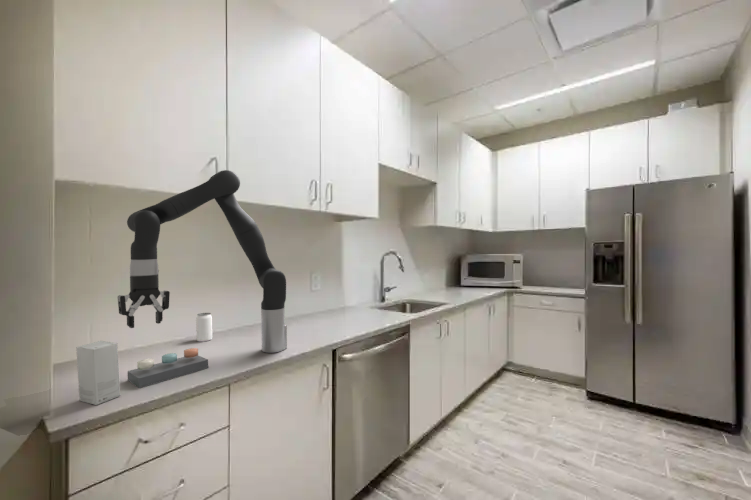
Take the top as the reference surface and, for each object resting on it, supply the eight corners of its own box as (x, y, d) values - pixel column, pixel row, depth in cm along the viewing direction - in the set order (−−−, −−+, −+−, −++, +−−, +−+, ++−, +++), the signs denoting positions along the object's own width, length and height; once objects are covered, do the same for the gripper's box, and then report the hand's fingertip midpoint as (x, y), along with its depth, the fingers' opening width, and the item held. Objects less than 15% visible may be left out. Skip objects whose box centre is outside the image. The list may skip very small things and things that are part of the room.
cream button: (150, 363, 112) (150, 357, 112) (156, 366, 109) (156, 360, 109) (135, 367, 108) (135, 361, 108) (140, 370, 106) (140, 364, 106)
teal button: (173, 358, 117) (173, 352, 117) (179, 360, 115) (179, 354, 115) (159, 361, 114) (159, 355, 114) (165, 364, 111) (165, 358, 111)
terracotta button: (194, 352, 123) (194, 347, 123) (200, 355, 120) (200, 349, 120) (181, 356, 119) (181, 350, 119) (187, 358, 117) (187, 352, 117)
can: (195, 342, 151) (194, 315, 151) (198, 338, 157) (197, 313, 157) (210, 341, 153) (210, 314, 153) (213, 337, 159) (213, 312, 159)
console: (194, 362, 126) (194, 354, 126) (208, 367, 120) (208, 359, 120) (127, 380, 109) (127, 371, 109) (139, 388, 103) (138, 378, 103)
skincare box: (120, 396, 97) (119, 342, 97) (94, 406, 91) (92, 349, 91) (103, 391, 101) (102, 339, 100) (76, 401, 95) (75, 345, 94)
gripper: (164, 271, 116) (164, 319, 116) (113, 274, 104) (113, 328, 105) (173, 272, 111) (174, 322, 112) (121, 276, 100) (122, 331, 100)
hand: (145, 325), depth 108 cm, fingers open, 7 cm apart
